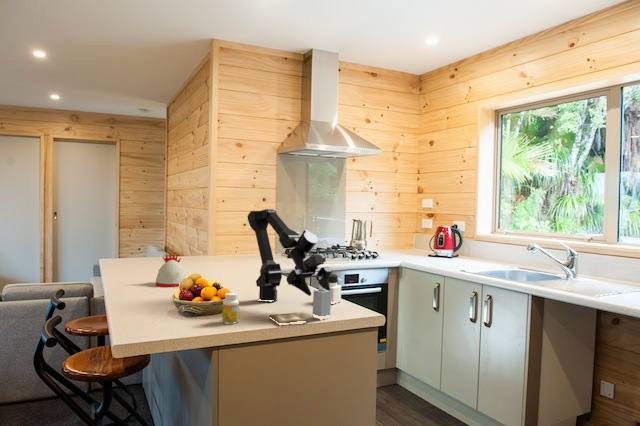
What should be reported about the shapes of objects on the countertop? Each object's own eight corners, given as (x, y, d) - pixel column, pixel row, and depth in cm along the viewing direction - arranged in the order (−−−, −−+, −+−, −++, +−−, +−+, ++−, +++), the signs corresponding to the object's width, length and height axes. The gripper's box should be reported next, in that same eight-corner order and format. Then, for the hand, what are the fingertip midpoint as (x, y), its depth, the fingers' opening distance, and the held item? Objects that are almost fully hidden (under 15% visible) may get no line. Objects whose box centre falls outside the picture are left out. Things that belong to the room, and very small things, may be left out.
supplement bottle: (219, 321, 157) (220, 293, 157) (232, 319, 161) (233, 291, 161) (227, 325, 154) (229, 296, 153) (241, 322, 157) (242, 294, 157)
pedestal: (279, 326, 155) (280, 321, 155) (269, 319, 164) (269, 314, 164) (306, 323, 160) (307, 319, 160) (295, 316, 168) (295, 312, 168)
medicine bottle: (340, 302, 197) (342, 274, 197) (332, 305, 191) (334, 276, 191) (326, 299, 201) (327, 272, 200) (317, 302, 194) (319, 274, 194)
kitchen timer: (154, 282, 224) (155, 251, 224) (183, 281, 230) (184, 251, 230) (157, 288, 212) (158, 255, 211) (188, 286, 217) (189, 254, 217)
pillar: (312, 317, 169) (313, 288, 168) (321, 316, 172) (322, 287, 171) (320, 320, 165) (322, 290, 165) (329, 318, 168) (331, 289, 168)
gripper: (292, 247, 167) (311, 282, 159) (330, 246, 179) (349, 278, 171) (278, 266, 173) (296, 301, 165) (316, 264, 185) (334, 296, 177)
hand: (320, 293), depth 169 cm, fingers open, 9 cm apart
